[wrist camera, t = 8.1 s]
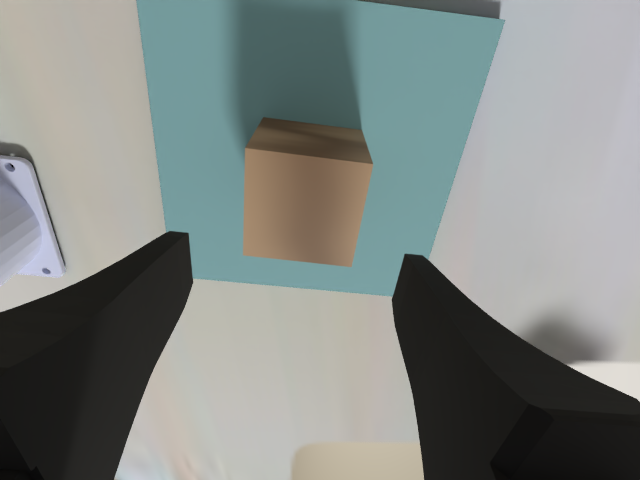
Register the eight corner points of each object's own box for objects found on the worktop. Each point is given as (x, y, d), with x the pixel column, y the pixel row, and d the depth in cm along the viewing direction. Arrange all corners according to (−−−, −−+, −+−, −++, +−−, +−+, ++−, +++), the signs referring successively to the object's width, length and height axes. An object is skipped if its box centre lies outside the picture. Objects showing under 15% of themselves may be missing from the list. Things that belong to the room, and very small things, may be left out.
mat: (175, 270, 24) (172, 276, 24) (138, -28, 16) (132, -30, 15) (413, 292, 25) (415, 298, 24) (499, 19, 17) (505, 19, 16)
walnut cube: (259, 206, 21) (242, 255, 17) (263, 117, 18) (244, 148, 14) (345, 216, 21) (351, 267, 17) (361, 129, 19) (373, 164, 14)
